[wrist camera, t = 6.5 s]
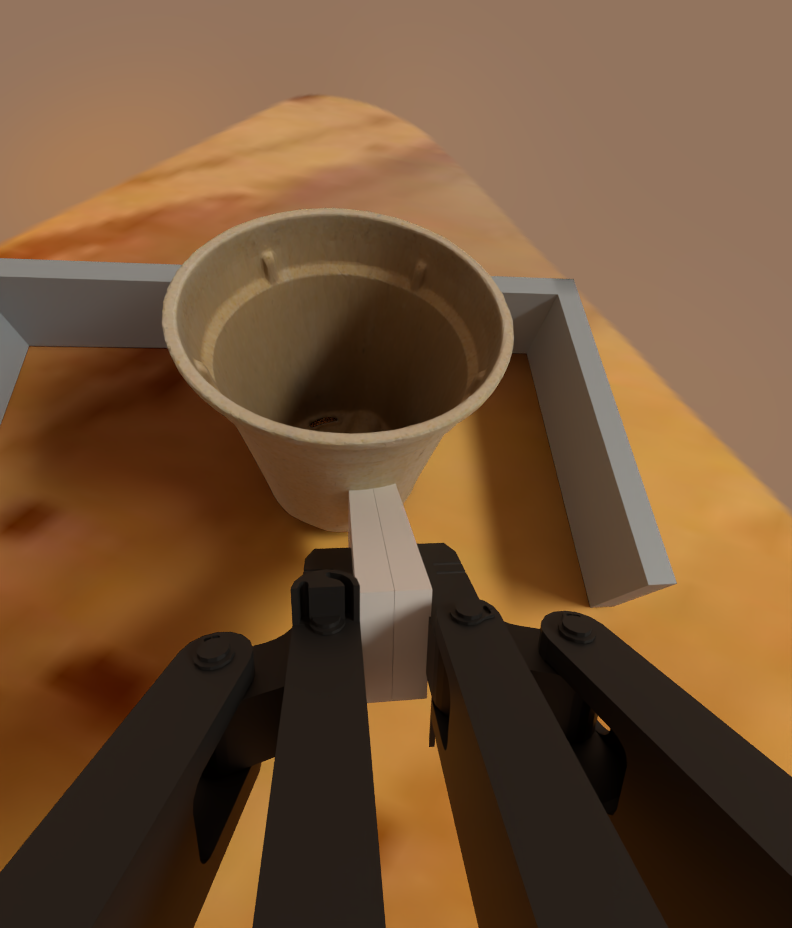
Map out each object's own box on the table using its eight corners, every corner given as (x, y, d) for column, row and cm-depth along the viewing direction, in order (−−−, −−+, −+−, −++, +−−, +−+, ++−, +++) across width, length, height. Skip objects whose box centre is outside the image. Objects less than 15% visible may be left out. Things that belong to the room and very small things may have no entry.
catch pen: (-115, 647, 16) (-248, 631, 12) (11, 328, 22) (-52, 256, 18) (613, 606, 19) (676, 583, 15) (540, 339, 25) (573, 279, 22)
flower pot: (335, 630, 16) (338, 523, 9) (178, 464, 19) (86, 283, 12) (491, 474, 21) (576, 319, 14) (344, 357, 24) (350, 177, 16)
